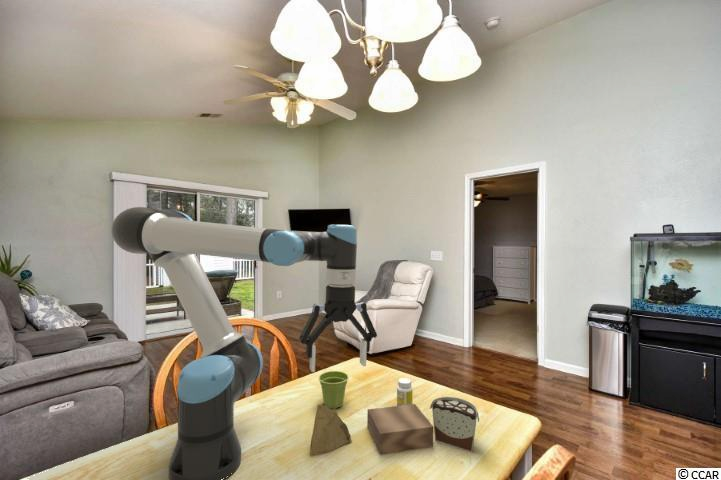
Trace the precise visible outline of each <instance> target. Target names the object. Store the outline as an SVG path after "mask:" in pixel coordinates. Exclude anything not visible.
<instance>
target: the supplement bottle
mask: <svg viewBox="0 0 721 480" xmlns="http://www.w3.org/2000/svg"><path fill="white" fill-rule="evenodd" d="M397 382H398V383H397V387H396V406H401V405H410V404H413V387H412V380H411V379H410V378H409V377H408V378H407V377H401V378H399V379H398V381H397Z"/></svg>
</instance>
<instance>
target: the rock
mask: <svg viewBox="0 0 721 480" xmlns="http://www.w3.org/2000/svg"><path fill="white" fill-rule="evenodd" d="M351 442H352V436H351V433H350V431H349V428H348V425H347V424H346V423H345V421H343V420H342V418H341V417H340V416H339V414H338V413H337V412H336V411H334V410H332V408H329V407H327V406H325V405H318V404H317V407H316V411H315V417H314V424H313V429H312V434H311V440H310V447H309V448H310V450H309V452H310V453H309V455H310V456H311V457H313V456H315V455H319V454H326V453H329V452H331V451H333V450H336V449H337V448H339V447H342V446H343V445H346V444H349V443H351Z"/></svg>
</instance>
